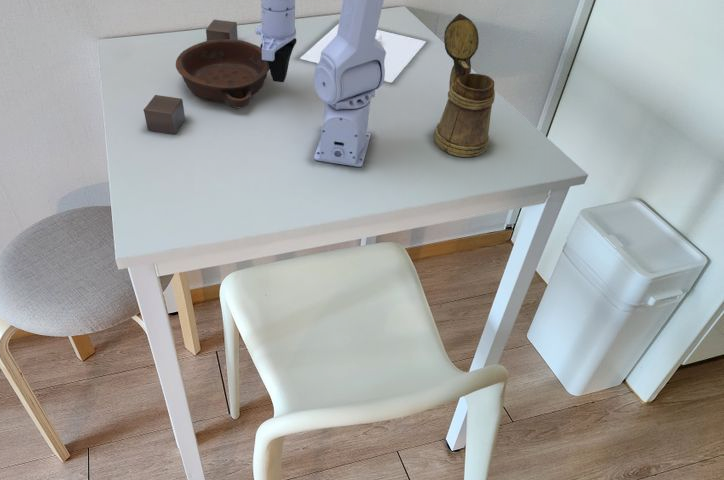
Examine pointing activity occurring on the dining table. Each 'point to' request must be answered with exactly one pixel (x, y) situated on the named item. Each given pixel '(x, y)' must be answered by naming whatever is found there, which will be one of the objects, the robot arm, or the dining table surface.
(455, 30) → the wooden mug
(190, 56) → the dish
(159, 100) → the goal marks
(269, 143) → the dining table surface
